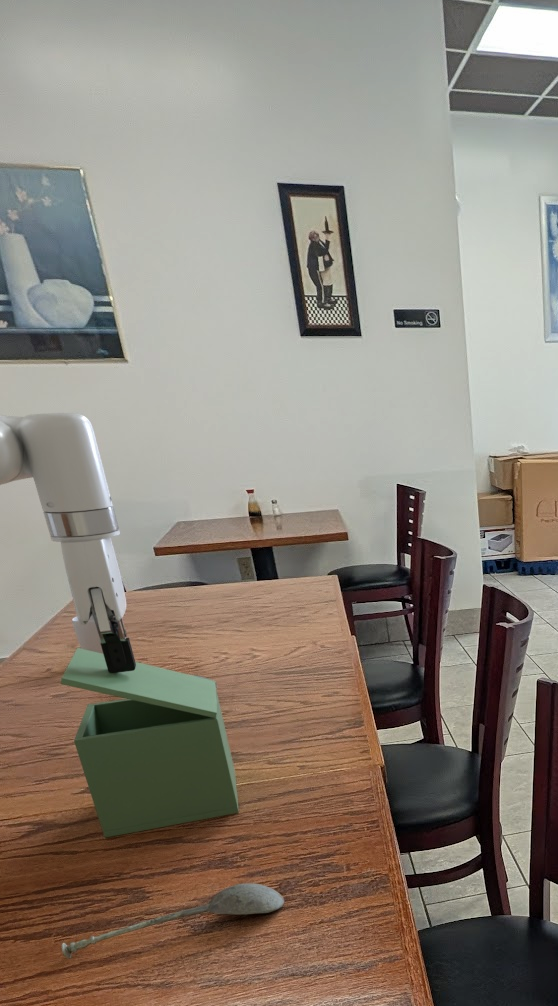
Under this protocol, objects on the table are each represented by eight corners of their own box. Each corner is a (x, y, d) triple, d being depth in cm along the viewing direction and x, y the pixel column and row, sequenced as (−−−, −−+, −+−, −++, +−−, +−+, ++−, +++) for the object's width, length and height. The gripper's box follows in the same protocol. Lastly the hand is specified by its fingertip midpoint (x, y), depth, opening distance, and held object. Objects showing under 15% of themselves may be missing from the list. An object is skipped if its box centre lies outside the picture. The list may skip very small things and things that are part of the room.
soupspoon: (289, 920, 91) (281, 894, 96) (285, 893, 89) (276, 868, 95) (63, 974, 82) (67, 942, 87) (54, 945, 81) (59, 914, 86)
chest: (104, 838, 108) (73, 740, 102) (114, 793, 120) (87, 704, 114) (239, 813, 113) (217, 718, 107) (235, 772, 126) (215, 686, 120)
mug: (125, 663, 182) (113, 618, 177) (80, 668, 179) (67, 623, 175) (133, 648, 193) (122, 606, 188) (91, 653, 190) (79, 610, 186)
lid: (60, 684, 99) (61, 677, 99) (76, 653, 111) (77, 647, 111) (215, 718, 107) (217, 712, 107) (214, 686, 120) (215, 680, 119)
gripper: (57, 520, 105) (97, 659, 113) (37, 535, 92) (84, 691, 100) (122, 515, 107) (156, 652, 115) (111, 530, 94) (151, 682, 102)
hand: (122, 670), depth 108 cm, fingers closed
